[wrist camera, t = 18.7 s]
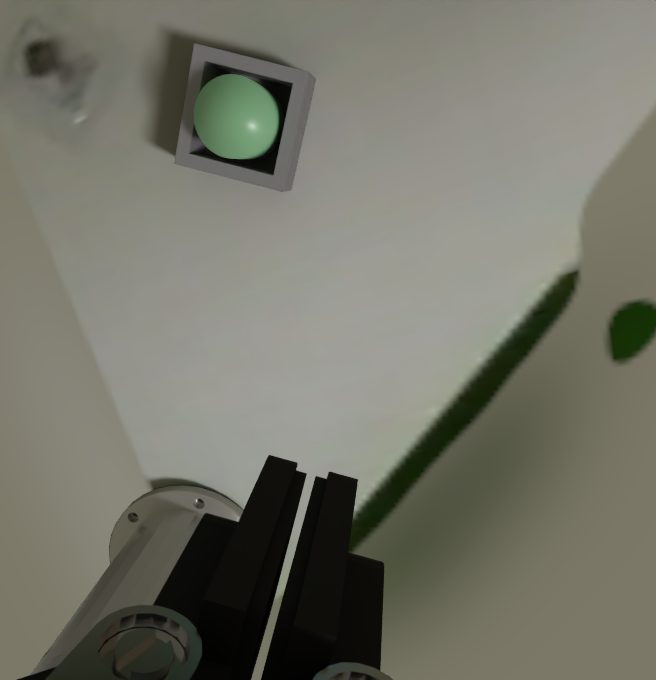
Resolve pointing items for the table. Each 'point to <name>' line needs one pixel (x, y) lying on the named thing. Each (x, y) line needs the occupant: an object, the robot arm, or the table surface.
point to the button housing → (302, 84)
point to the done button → (238, 118)
